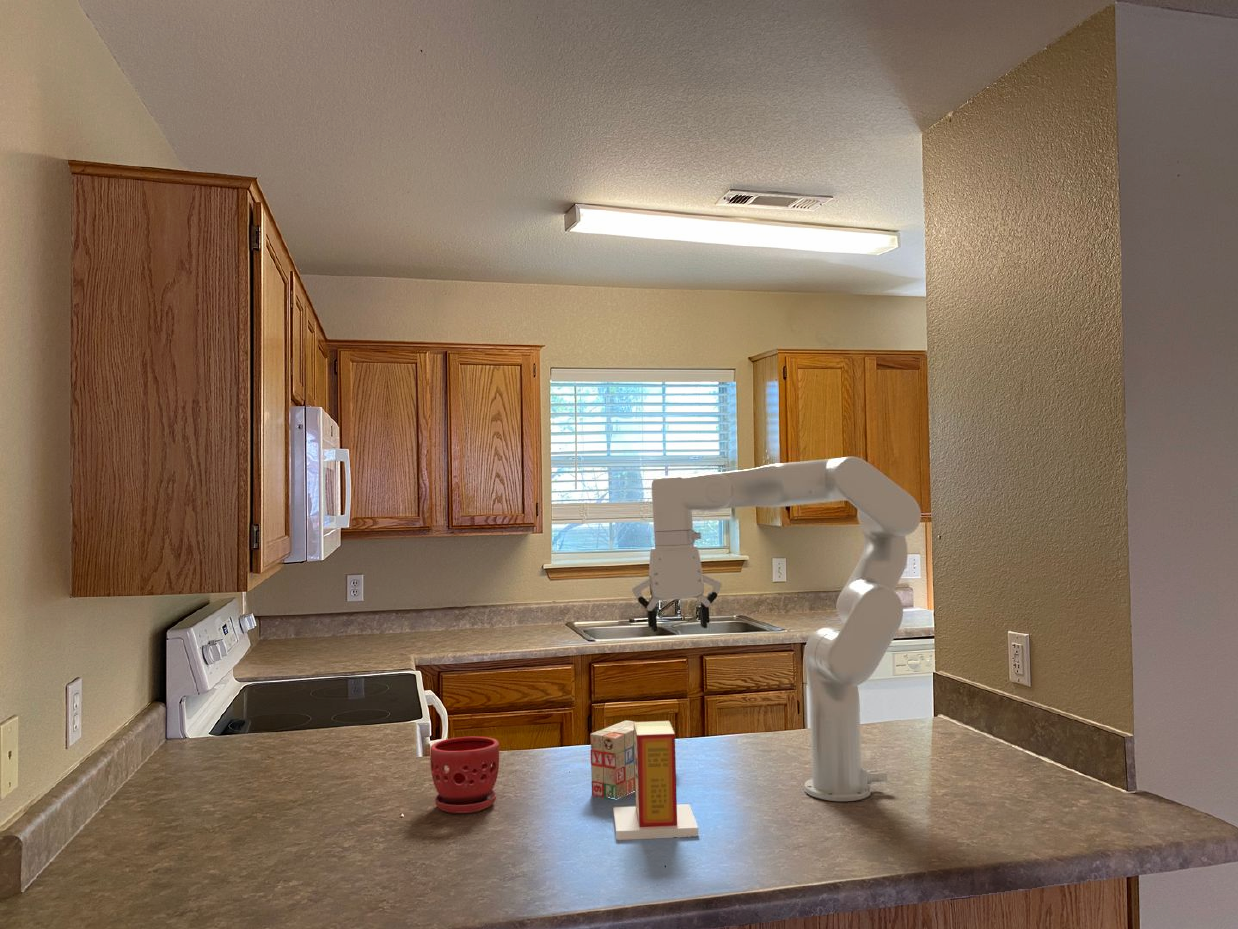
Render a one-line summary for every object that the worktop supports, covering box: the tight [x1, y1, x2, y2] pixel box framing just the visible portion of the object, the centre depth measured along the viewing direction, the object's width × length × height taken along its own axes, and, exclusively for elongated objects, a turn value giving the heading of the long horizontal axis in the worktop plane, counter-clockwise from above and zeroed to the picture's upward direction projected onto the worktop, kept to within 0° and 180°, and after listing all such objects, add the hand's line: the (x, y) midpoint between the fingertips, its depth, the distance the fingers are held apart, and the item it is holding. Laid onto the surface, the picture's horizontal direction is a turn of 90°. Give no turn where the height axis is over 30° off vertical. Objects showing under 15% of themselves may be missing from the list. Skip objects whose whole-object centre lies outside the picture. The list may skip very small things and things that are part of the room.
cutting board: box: [612, 803, 699, 841], centre depth 159 cm, size 14×12×2 cm
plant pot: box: [429, 736, 500, 814], centre depth 172 cm, size 13×13×12 cm
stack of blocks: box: [589, 719, 675, 799], centre depth 183 cm, size 21×6×12 cm, turn 144°
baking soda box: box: [633, 720, 678, 827], centre depth 159 cm, size 10×6×16 cm
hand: (679, 629), depth 172 cm, fingers open, 9 cm apart
